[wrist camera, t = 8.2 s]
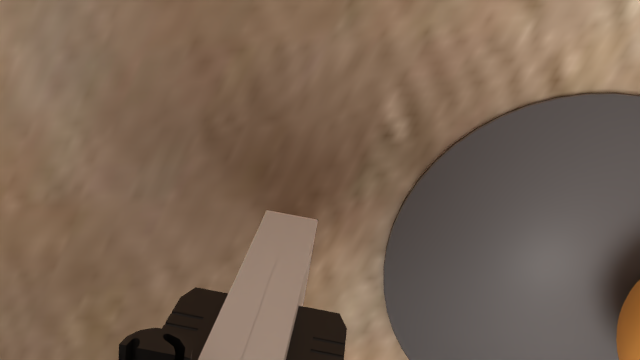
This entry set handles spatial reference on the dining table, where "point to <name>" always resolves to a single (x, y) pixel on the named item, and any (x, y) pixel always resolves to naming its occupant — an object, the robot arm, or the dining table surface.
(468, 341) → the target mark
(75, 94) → the dining table surface
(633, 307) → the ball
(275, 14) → the dining table surface
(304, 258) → the robot arm
